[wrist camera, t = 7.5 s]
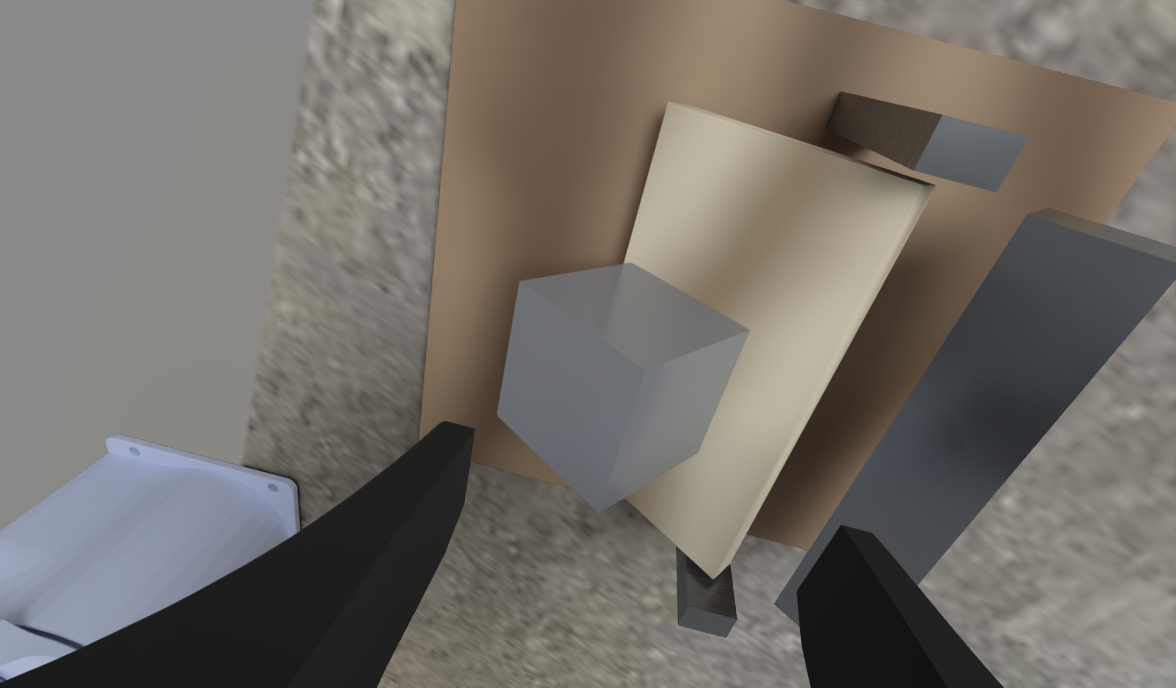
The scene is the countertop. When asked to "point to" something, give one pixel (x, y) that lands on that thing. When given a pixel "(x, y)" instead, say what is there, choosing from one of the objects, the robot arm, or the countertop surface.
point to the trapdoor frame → (775, 103)
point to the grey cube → (614, 376)
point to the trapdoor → (833, 316)
